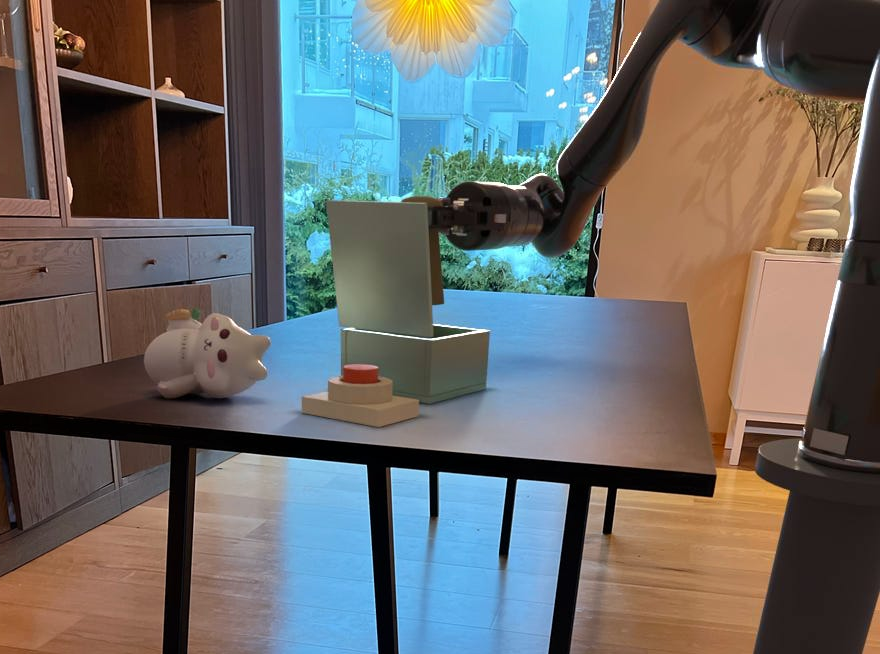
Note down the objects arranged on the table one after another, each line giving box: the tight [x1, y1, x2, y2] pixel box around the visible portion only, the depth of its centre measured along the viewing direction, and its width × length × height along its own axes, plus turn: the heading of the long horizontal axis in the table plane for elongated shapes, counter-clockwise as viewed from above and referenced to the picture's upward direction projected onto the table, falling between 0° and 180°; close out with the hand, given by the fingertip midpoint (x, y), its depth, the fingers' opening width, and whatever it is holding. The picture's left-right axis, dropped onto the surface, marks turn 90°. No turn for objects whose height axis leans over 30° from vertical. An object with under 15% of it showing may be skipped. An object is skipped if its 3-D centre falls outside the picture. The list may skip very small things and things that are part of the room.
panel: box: [301, 375, 420, 428], centre depth 93 cm, size 10×7×4 cm
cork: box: [400, 195, 445, 306], centre depth 101 cm, size 6×6×11 cm
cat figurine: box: [143, 307, 272, 399], centre depth 98 cm, size 10×8×15 cm
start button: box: [343, 364, 378, 384], centre depth 92 cm, size 4×4×2 cm
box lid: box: [325, 199, 434, 337], centre depth 96 cm, size 13×13×1 cm
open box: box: [340, 323, 491, 405], centre depth 106 cm, size 13×13×7 cm
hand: (407, 216), depth 97 cm, fingers closed on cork, 5 cm apart
